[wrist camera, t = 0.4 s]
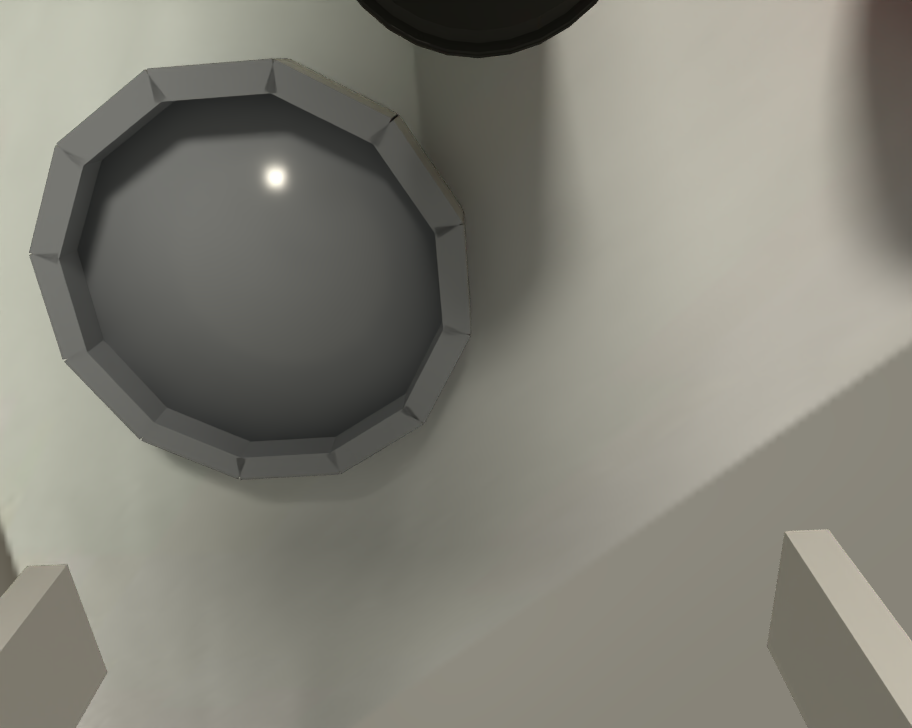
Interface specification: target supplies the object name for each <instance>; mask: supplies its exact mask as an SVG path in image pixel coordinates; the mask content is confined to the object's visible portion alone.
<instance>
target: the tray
mask: <svg viewBox="0 0 912 728" xmlns="http://www.w3.org/2000/svg"><path fill="white" fill-rule="evenodd" d="M396 115H397V113H396V112H394V111H392V110H390V109H388V108H386V107H384V106H382V105H380V104H378V103H376V102H374V101H372V100H370V99H368V98H366V97H364V96H362V95H360V94H358V93H356V92H354V91H352V90H350V89H348V88H346V87H345V86H343V85H341V84H339V83H337V82H335V81H333V80H331V79H329V78H327V77H325V76H323V75H321V74H319V73H317V72H315V71H313V70H311V69H309V68H307V67H305V66H303V65H301V64H299V63H297V62H295V61H293V60H291V59H261V60H249V61H236V62H224V63H211V64H199V65H186V66H174V67H161V68H148V69H147V70H143V71H142V72H141V73H140V74H139V75H137V76H136V77H135V78H134V79H133V80H131V81H130V82H129V83H128V84H127V85H126V86H124V87H123V88H122V89H121V90H120V91H118V92H117V93H116V94H115V95H114V96H112V97H111V98H110V99H109V100H108V101H106V102H105V103H104V104H103V105H102V106H101V107H99V108H98V109H97V110H96V111H95V112H93V113H92V114H91V115H90V116H89V117H87V118H86V119H85V120H84V121H83V122H81V123H80V124H79V125H78V126H77V127H76V128H74V129H73V130H72V131H71V132H70V133H68V134H67V135H66V136H65V137H64V138H62V139H61V140H60V141H59V142H58V143H57V145H56V146H55V148H54V153H53V157H52V161H51V165H50V169H49V173H48V177H47V181H46V185H45V189H44V193H43V198H42V202H41V206H40V210H39V214H38V218H37V222H36V226H35V230H34V234H33V239H32V243H31V247H30V251H29V253H32V254H30V255H29V256H30V259H31V262H32V265H33V268H34V271H35V274H36V278H37V281H38V284H39V287H40V290H41V293H42V296H43V299H44V303H45V306H46V309H47V312H48V315H49V318H50V321H51V324H52V327H53V331H54V334H55V337H56V340H57V343H58V346H59V349H60V352H61V356H62V359H67V360H66V361H64V362H65V363H66V364H67V365H68V366H69V367H70V368H71V369H72V370H73V371H74V372H75V373H76V374H77V375H78V376H79V377H80V379H81V380H82V381H83V382H84V383H85V384H86V385H87V386H88V387H89V388H90V389H91V390H92V391H93V392H94V393H95V394H96V395H97V396H98V397H99V398H100V399H101V400H102V401H103V402H104V403H105V404H106V405H107V406H108V407H109V408H110V409H111V410H112V411H113V412H114V414H115V415H116V416H117V417H118V418H119V419H120V420H121V421H122V422H123V423H124V424H125V425H126V426H127V427H128V428H129V429H130V430H131V431H132V432H133V433H134V434H135V435H136V436H137V437H138V438H139V439H141V438H142V437H143V438H142V441H144V442H146V443H149V444H151V445H154V446H156V447H159V448H161V449H164V450H166V451H169V452H171V453H174V454H176V455H179V456H181V457H184V458H186V459H189V460H191V461H194V462H196V463H199V464H201V465H204V466H206V467H209V468H211V469H214V470H216V471H219V472H222V473H224V474H227V475H229V476H232V477H234V478H237V479H239V477H240V479H241V480H242V479H261V478H279V477H297V476H315V475H334V474H339V473H343V472H345V471H346V470H348V469H350V468H351V467H353V466H355V465H356V464H358V463H360V462H361V461H363V460H365V459H366V458H368V457H370V456H371V455H373V454H375V453H376V452H378V451H380V450H381V449H383V448H385V447H386V446H388V445H390V444H391V443H393V442H395V441H396V440H398V439H400V438H401V437H403V436H405V435H406V434H408V433H410V432H411V431H413V430H415V429H416V428H418V427H420V426H421V425H423V423H425V421H426V419H427V417H428V415H429V414H430V412H431V410H432V408H433V406H434V404H435V402H436V400H437V398H438V397H439V395H440V393H441V391H442V389H443V387H444V385H445V383H446V381H447V380H448V378H449V376H450V374H451V372H452V370H453V368H454V366H455V364H456V363H457V361H458V359H459V357H460V355H461V353H462V351H463V349H464V348H465V346H466V344H467V342H468V340H469V338H470V334H471V311H470V297H469V282H468V267H467V253H466V238H465V223H464V212H463V209H462V208H461V206H460V205H459V203H458V202H457V200H456V199H455V197H454V196H453V194H452V193H451V191H450V190H449V188H448V187H447V185H446V184H445V182H444V181H443V179H442V178H441V176H440V175H439V173H438V172H437V170H436V169H435V167H434V166H433V164H432V163H431V162H430V160H429V159H428V157H427V156H426V154H425V153H424V151H423V150H422V148H421V147H420V145H419V144H418V142H417V141H416V139H415V138H414V136H413V135H412V133H411V132H410V130H409V129H408V127H407V126H406V124H405V123H404V121H403V120H402V118H401V117H400V115H399V116H397V117H396Z"/></svg>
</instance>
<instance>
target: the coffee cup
mask: <svg viewBox="0 0 912 728" xmlns="http://www.w3.org/2000/svg"><path fill="white" fill-rule="evenodd" d="M357 1H358V2H359V4H360V5H361V6H362V7H363V8H364V9H365V10H366V11H368V12H369V13H370V14H371V15H372V16H373V17H375V18H376V19H377V20H378V21H379V22H380V23H381V24H383V25H384V26H385V27H386V28H387V29H389V30H390V31H392V32H394V33H396V34H397V35H399V36H401V37H403V38H405V39H406V40H408V41H410V42H412V43H413V44H415V45H417V46H420V47H423V48H427V49H430V50H433V51H436V52H439V53H442V54H445V55H452V56H462V57H473V58H483V57H491V56H500V55H508V54H512V53H515V52H518V51H521V50H524V49H527V48H530V47H533V46H536V45H539V44H541V43H543V42H545V41H546V40H548V39H550V38H551V37H553V36H555V35H556V34H558V33H560V32H562V31H563V30H565V29H567V28H568V27H570V26H571V25H572V24H573V23H574V22H576V21H577V20H578V19H579V18H580V17H581V16H582V15H583V14H585V13H586V12H587V11H588V10H589V9H590V8H591V7H593V6H594V5H595V4H596V3H597V1H598V0H357Z"/></svg>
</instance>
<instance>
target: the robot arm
mask: <svg viewBox="0 0 912 728" xmlns="http://www.w3.org/2000/svg"><path fill="white" fill-rule="evenodd" d="M767 647H768V649H769V651H770V653H771V655H772V657H773V659H774V661H775V663H776V665H777V667H778V669H779V671H780V673H781V675H782V677H783V679H784V681H785V683H786V685H787V687H788V689H789V691H790V693H791V695H792V697H793V699H794V701H795V703H796V705H797V707H798V709H799V711H800V713H801V715H802V717H803V719H804V721H805V723H806V725H807V727H808V728H912V641H911V640H910V638H909V637H908V635H907V634H906V633H905V631H904V630H903V629H902V627H901V626H900V625H899V623H898V622H897V621H896V619H895V618H894V617H893V615H892V614H891V613H890V611H889V610H888V609H887V607H886V606H885V605H884V603H883V602H882V601H881V599H880V598H879V597H878V595H877V594H876V593H875V591H874V590H873V589H872V587H871V586H870V585H869V583H868V582H867V580H866V579H865V578H864V577H863V575H862V574H861V572H860V571H859V570H858V569H857V567H856V566H855V564H854V563H853V562H852V560H851V559H850V558H849V556H848V555H847V554H846V552H845V551H844V550H843V548H842V547H841V546H840V544H839V543H838V542H837V540H836V539H835V538H834V536H833V535H832V534H831V532H830V531H829V530H828V529H827V530H826V529H825V530H803V531H785V532H784V539H783V545H782V552H781V559H780V565H779V571H778V579H777V584H776V591H775V597H774V604H773V610H772V617H771V623H770V629H769V637H768V642H767ZM106 674H107V670H106V667H105V664H104V662H103V659H102V656H101V654H100V651H99V648H98V646H97V643H96V640H95V638H94V635H93V632H92V630H91V627H90V624H89V621H88V619H87V616H86V613H85V611H84V608H83V605H82V603H81V600H80V597H79V595H78V592H77V589H76V587H75V584H74V581H73V579H72V576H71V573H70V571H69V568H68V565H67V564H63V565H41V566H27V567H26V568H25V569H24V570H23V572H22V573H21V574H20V575H19V576H18V578H17V579H16V580H15V581H14V583H12V585H11V586H10V587H9V588H8V589H7V591H6V592H5V593H4V594H3V595H2V597H1V598H0V728H76V727H77V725H78V723H79V721H80V720H81V718H82V716H83V714H84V713H85V711H86V709H87V707H88V706H89V704H90V702H91V700H92V699H93V697H94V695H95V693H96V691H97V690H98V688H99V686H100V684H101V683H102V681H103V679H104V677H105V676H106Z"/></svg>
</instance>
